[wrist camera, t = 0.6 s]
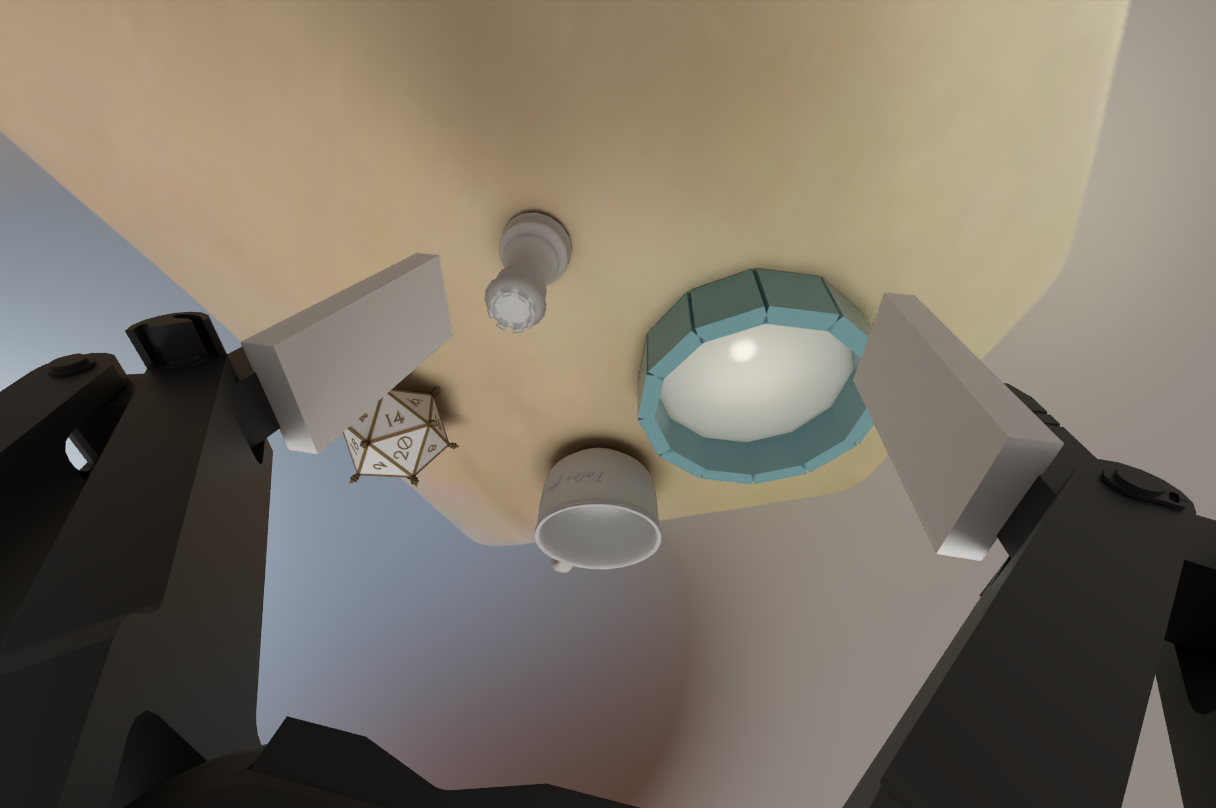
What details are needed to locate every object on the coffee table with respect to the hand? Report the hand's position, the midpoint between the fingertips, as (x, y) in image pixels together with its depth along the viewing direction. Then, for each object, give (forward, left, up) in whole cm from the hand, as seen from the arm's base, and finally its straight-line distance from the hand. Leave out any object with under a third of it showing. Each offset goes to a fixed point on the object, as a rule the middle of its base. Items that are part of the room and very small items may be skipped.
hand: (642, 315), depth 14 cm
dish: (+17, +2, -16) cm, 24 cm away
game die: (+10, -25, -16) cm, 32 cm away
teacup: (+25, -15, -16) cm, 34 cm away
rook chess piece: (+2, -8, -16) cm, 18 cm away
